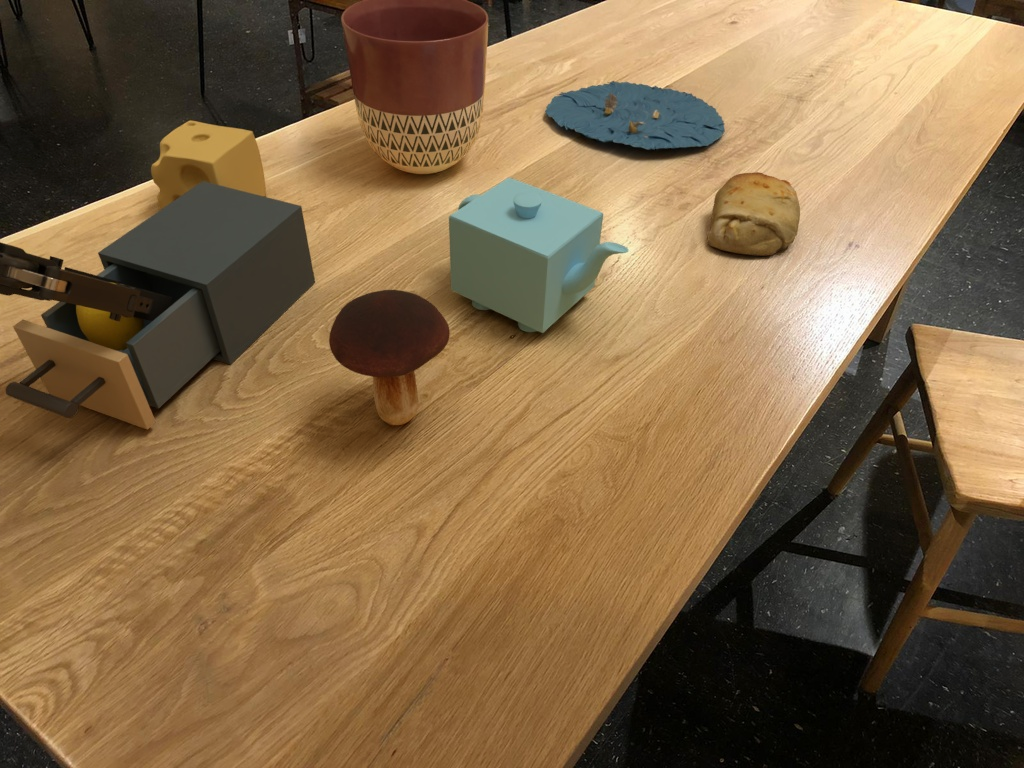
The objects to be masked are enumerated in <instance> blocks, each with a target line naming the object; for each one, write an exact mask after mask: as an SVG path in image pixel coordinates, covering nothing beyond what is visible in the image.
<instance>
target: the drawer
mask: <svg viewBox="0 0 1024 768" xmlns="http://www.w3.org/2000/svg"><path fill="white" fill-rule="evenodd" d="M96 275H97V276H100V277H104V278H108V279H111V280H115V281H118V282H122V283H123V284H124V285H128V286H132V287H135V288H139V289H143V290H146V291H150V292H154V293H157V294H161V295H165V296H168V297H171V298H172V299H171V303H170V306H169V308H168V309H167V310H166V311H164V312H163V313H162V314H161V315H159V316H158V317H157V318H156V319H155V320H153V321H150V320H145V319H143V324H144V326H143V329H142V330H141V331H140V332H139V333H137V334H136V335H135V336H134V337H133V338H131V339H130V340H129V341H128V342H126V344H127V347H128V348H127V349H126V350H119V351H116V350H113V349H110V348H107V347H104V346H101V345H98V344H95V343H92V342H90V341H89V340H88V339H87V337H86V336H85V335H84V333H83V332H82V330H81V328H80V326H79V323H78V318H77V313H76V305H75V304H70V303H66V302H60V301H57V303H55V304H54V305H53V306H51V307H50V308H48V309H47V310H46V311H43V312H42V313H41V314H40V316H41V319H42V320H43V322H44V324H45V325H41V324H39V323H38V324H37V323H35V322H32V321H29V320H27V319H21V320H20V321H18V322H17V323H15V324H14V325H13V326H12V328H13V329H14V332H15V334H16V335H17V338H18V339H19V341H20V343H21V344H22V347H23V348H24V350H25V352H26V354H27V356H28V358H29V360H30V361H31V363H32V365H33V367H34V369H35V370H34V371H32V372H31V373H30V374H28V375H27V376H26V377H24V378H23V379H21V380H20V381H19V382H17V381H12V382H9V383H8V384H7V385H6V386H5V394H6V395H7V396H8V397H10V398H13V399H16V400H19V401H21V402H24V403H26V404H29V405H32V406H35V407H38V408H39V409H43V410H45V411H48V412H50V413H53V414H57V415H58V416H61V417H65V418H66V419H71V418H74V417H75V416H77V414H78V411H79V407H80V406H81V407H84V408H86V409H89V410H92V411H95V412H96V413H97V412H98V413H100V414H103V415H106V416H108V417H111V418H113V419H117V420H119V421H123V422H125V423H128V424H131V425H133V426H135V427H136V426H137V427H139V428H141V429H144V430H149V429H150V428H151V427H153V425H154V424H155V423H156V422H157V421H156V419H155V417H154V414H153V411H152V409H151V407H153V408H155V409H160V408H161V407H162V406H163V405H164V404H165V403H166V402H168V401H169V400H170V399H171V398H172V397H173V396H174V395H175V394H176V393H178V391H179V390H180V389H182V388H183V386H185V385H186V384H187V383H188V382H189V381H190V380H191V379H192V378H193V377H194V376H195V375H197V374H198V373H199V372H200V370H202V369H203V368H204V367H205V366H206V365H207V364H208V363H209V362H210V361H211V360H213V359H212V358H213V357H214V356H215V355H216V354H217V353H219V352H220V351H221V349H220V346H219V343H218V340H217V336H216V333H215V330H214V327H213V323H212V320H211V317H210V314H209V310H208V307H207V304H206V301H205V297H204V294H203V291H202V289H200V288H196V287H193V286H189V285H186V284H183V283H179V282H176V281H173V280H169V279H166V278H162V277H159V276H156V275H152V274H149V273H146V272H142V271H139V270H135V269H132V268H129V267H125V266H122V265H119V264H115V263H113V264H112V265H110V266H109V267H108V268H106V269H103V270H102V271H100V272H99V273H98V274H96ZM39 379H40V381H42V384H43V385H44V387H45V389H46V391H47V392H45V391H42V390H41V389H37V388H34V387H31V386H32V385H33V384H35V382H36V381H38V380H39Z"/></svg>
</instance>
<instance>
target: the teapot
mask: <svg viewBox="0 0 1024 768" xmlns="http://www.w3.org/2000/svg"><path fill="white" fill-rule="evenodd" d="M603 220H604V213H603V212H602V211H600V210H597V209H595V208H592V207H589V206H587V205H584V204H581V203H579V202H577V201H574V200H571V199H569V198H566V197H564V196H561V195H558V194H555V193H553V192H550V191H548V190H545V189H542V188H540V187H537V186H533V185H531V184H528V183H526V182H523V181H521V180H518V179H514V178H512V177H509V176H508V177H506V178H505V179H504V180H502V181H501V182H499V183H498V184H496V185H495V186H492V187H491V188H489V189H488V190H486V191H485V192H483V193H482V194H479V193H478V194H471V195H469V196H467V197H465V198H464V199H463V200H462V201H461V202H460V204H459V205H458V208H457V210H456V211H455V212H452V213H451V214H450V215H449V216H448V233H449V234H448V235H449V267H450V269H449V270H450V291H451V292H454V293H456V294H458V295H459V296H462V297H464V298H467V299H469V300H471V305H472V306H473V308H474V309H477V310H480V311H488V310H491V311H494V312H496V313H498V314H500V315H503V316H505V317H506V318H509V319H510V320H513V321H516V322H517V326H518V328H519V330H521V331H524V332H526V333H535V332H538V333H541V334H544V333H545V332H546V331H547V330H548V329H549V328H550V327H552V325H554V324H555V323H556V322H557V321H558V320H559V319H560V318H561V317H562V316H563V315H565V314H566V313H567V312H568V311H569V310H570V309H571V308H573V307H574V305H576V304H577V303H578V302H579V301H580V300H581V299H582V298H583V297H585V296H586V295H587V294H588V293H589V292H590V291H591V290H592V289H593V288H594V287H595V285H596V284H595V283H596V280H597V278H598V276H599V274H600V272H601V270H602V268H603V265H604V264H605V262H606V261H607V259H608V258H609V257H611V256H613V255H618V254H626V253H628V252H629V249H628V247H626V246H625V245H623V244H620V243H618V242H611V241H604V242H601V237H602V228H603Z"/></svg>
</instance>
